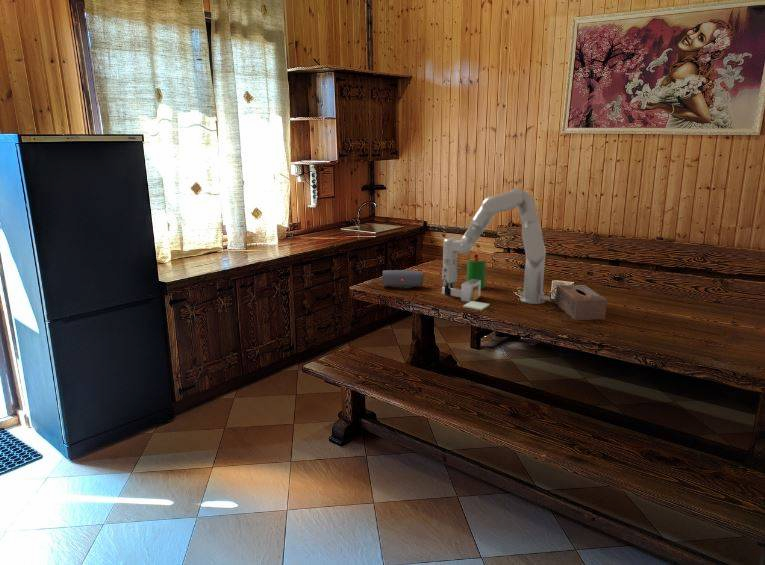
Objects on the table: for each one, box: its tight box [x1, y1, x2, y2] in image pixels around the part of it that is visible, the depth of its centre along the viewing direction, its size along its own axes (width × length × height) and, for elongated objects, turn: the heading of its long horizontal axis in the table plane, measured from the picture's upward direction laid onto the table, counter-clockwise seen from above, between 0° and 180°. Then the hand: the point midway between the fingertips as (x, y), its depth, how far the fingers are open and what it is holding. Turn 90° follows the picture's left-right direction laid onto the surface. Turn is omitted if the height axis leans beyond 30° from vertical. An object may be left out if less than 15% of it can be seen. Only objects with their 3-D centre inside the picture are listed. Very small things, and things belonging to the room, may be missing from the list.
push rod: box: [441, 286, 461, 298], centre depth 294 cm, size 15×2×4 cm, turn 55°
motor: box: [466, 252, 487, 290], centre depth 309 cm, size 10×9×20 cm
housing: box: [460, 279, 482, 303], centre depth 289 cm, size 5×13×9 cm, turn 145°
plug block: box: [472, 289, 479, 301], centre depth 288 cm, size 5×5×5 cm
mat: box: [462, 300, 491, 311], centre depth 276 cm, size 10×10×1 cm
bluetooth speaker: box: [381, 269, 424, 289], centre depth 310 cm, size 23×9×10 cm, turn 83°
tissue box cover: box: [554, 284, 608, 321], centre depth 267 cm, size 26×14×10 cm, turn 2°
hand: (448, 294), depth 297 cm, fingers closed on push rod, 2 cm apart
